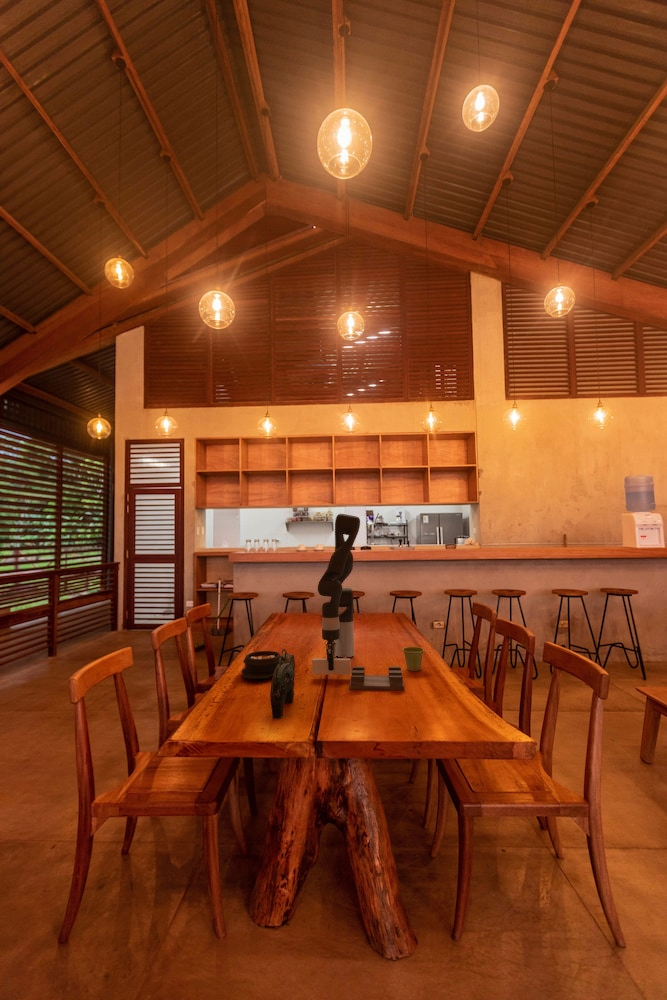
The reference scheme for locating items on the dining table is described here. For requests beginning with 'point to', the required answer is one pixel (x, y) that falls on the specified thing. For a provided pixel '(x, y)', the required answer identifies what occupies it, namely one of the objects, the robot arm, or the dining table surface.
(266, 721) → the dining table surface
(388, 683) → the dark grey holder
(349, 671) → the clay strip
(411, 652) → the plant pot
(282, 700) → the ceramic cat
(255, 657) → the casserole
